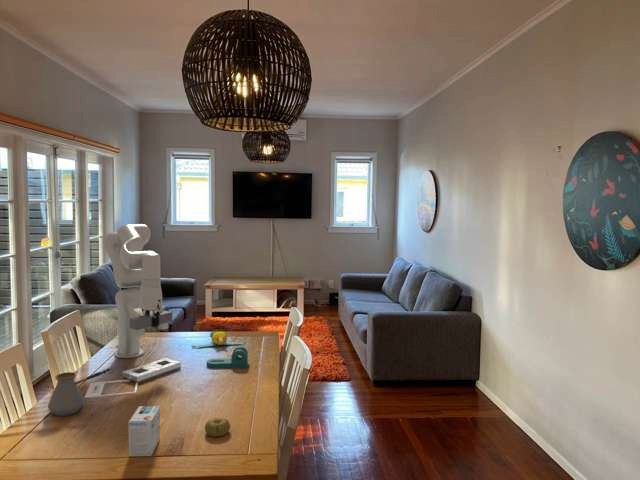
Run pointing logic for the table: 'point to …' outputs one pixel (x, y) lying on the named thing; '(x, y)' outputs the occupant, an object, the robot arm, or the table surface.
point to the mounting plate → (151, 370)
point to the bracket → (231, 360)
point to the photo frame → (97, 389)
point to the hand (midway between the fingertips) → (151, 324)
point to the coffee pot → (68, 394)
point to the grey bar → (149, 322)
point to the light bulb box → (144, 431)
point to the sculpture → (217, 427)
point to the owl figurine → (218, 339)
